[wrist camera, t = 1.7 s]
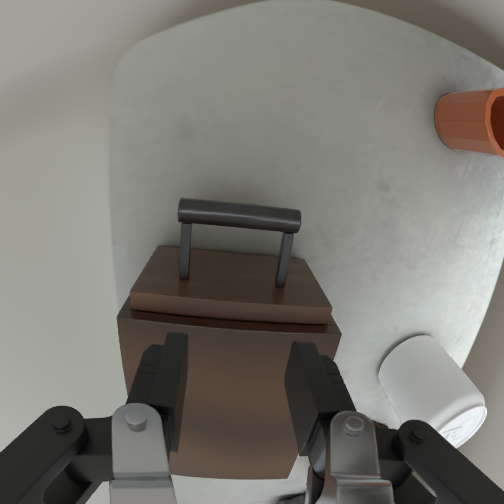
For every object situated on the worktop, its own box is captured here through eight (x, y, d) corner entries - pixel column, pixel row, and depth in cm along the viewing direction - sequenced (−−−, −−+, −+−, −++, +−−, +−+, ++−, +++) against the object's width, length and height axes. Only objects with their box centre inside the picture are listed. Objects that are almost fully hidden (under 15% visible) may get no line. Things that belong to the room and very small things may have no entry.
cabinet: (153, 255, 25) (116, 316, 16) (306, 268, 27) (342, 333, 17) (158, 398, 31) (144, 470, 22) (275, 406, 32) (287, 478, 23)
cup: (436, 84, 22) (487, 77, 15) (477, 104, 22) (527, 104, 16) (431, 142, 23) (482, 148, 17) (472, 157, 24) (522, 167, 17)
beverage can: (427, 377, 33) (472, 443, 22) (371, 393, 33) (409, 471, 22) (442, 325, 30) (502, 390, 19) (381, 339, 30) (435, 421, 19)
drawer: (160, 183, 22) (128, 204, 15) (314, 198, 24) (351, 226, 16) (161, 390, 29) (149, 450, 22) (274, 398, 30) (284, 458, 23)
